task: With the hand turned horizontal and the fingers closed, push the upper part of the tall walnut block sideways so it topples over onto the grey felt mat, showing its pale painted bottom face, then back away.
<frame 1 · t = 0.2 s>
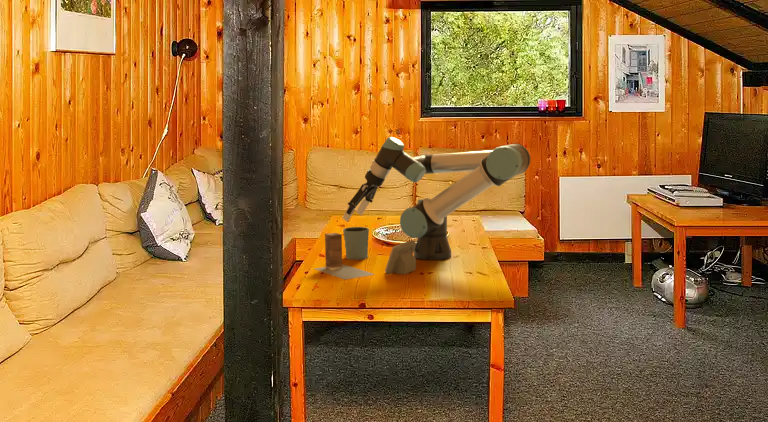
hand: (352, 216, 325), 16 cm above the table, tool tilted 35°, fingers open, 13 cm apart
felt mat: (343, 272, 299), on the table
digital clock: (400, 271, 301), on the table
walnut block: (334, 268, 304), resting on felt mat
grey green cup: (356, 259, 324), on the table
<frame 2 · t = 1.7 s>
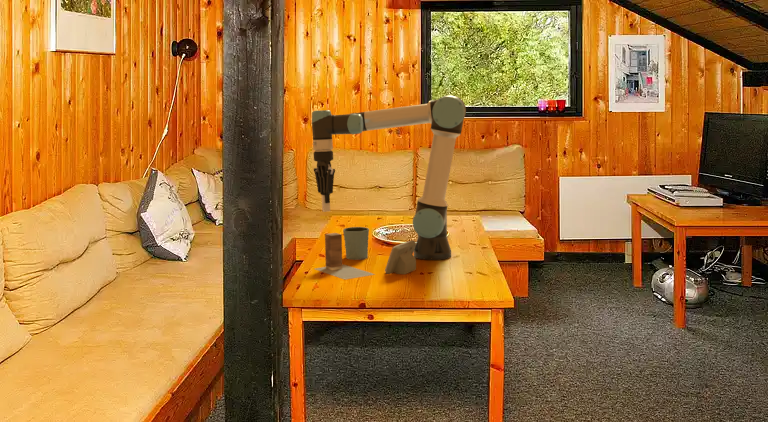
hand: (326, 211, 315), 20 cm above the table, tool pointing down, fingers closed
nothing on the table moved.
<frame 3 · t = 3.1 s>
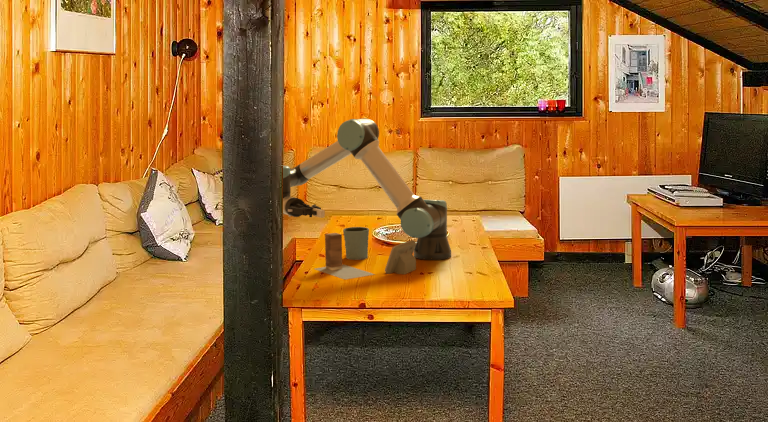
hand: (322, 214, 307), 20 cm above the table, tool horizontal, fingers closed
nothing on the table moved.
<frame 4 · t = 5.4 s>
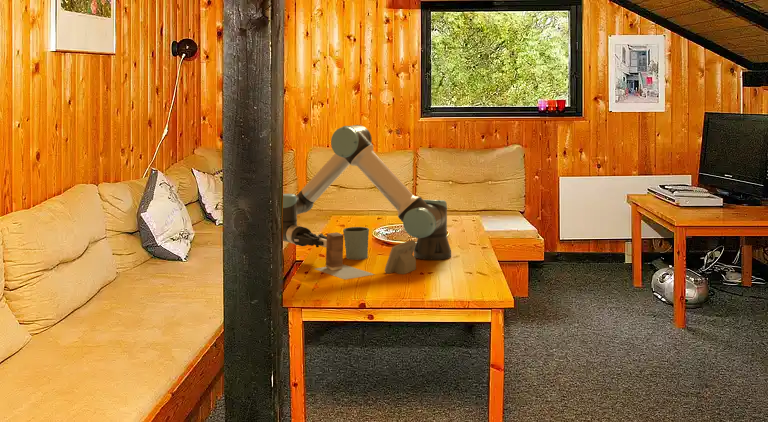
hand: (329, 244, 304), 9 cm above the table, tool horizontal, fingers closed
walnut block: (334, 267, 304), point 1 cm above the table, tilted 6°, touching felt mat
everything else where it was.
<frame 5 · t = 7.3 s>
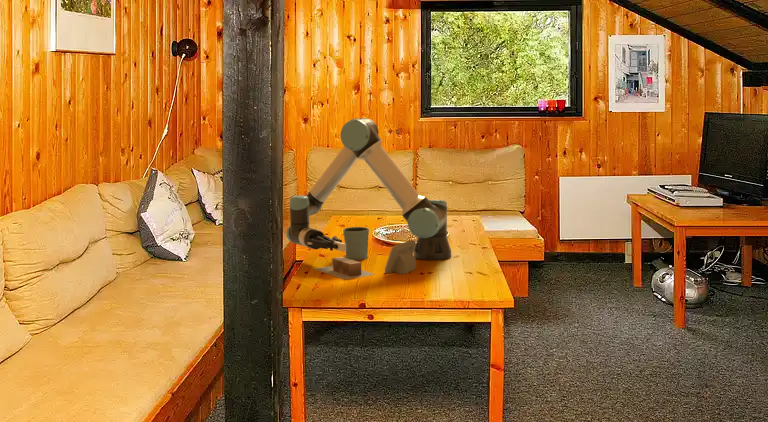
hand: (344, 247, 297), 9 cm above the table, tool horizontal, fingers closed
walnut block: (337, 263, 302), point 3 cm above the table, tilted 90°, touching felt mat
everything else where it was.
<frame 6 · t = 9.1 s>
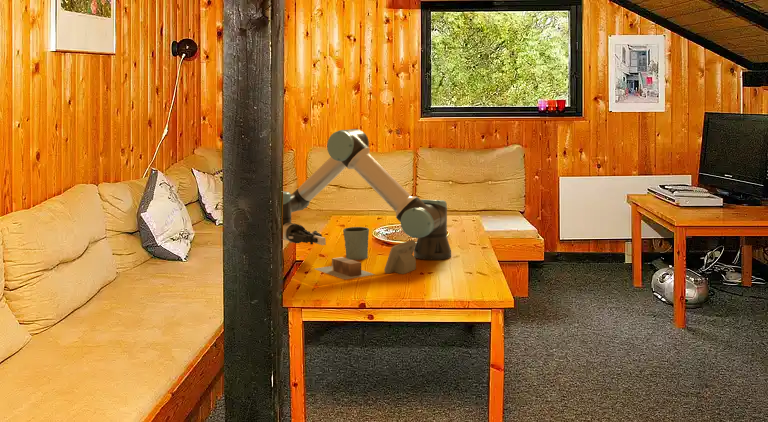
hand: (323, 241, 309), 10 cm above the table, tool horizontal, fingers closed
nothing on the table moved.
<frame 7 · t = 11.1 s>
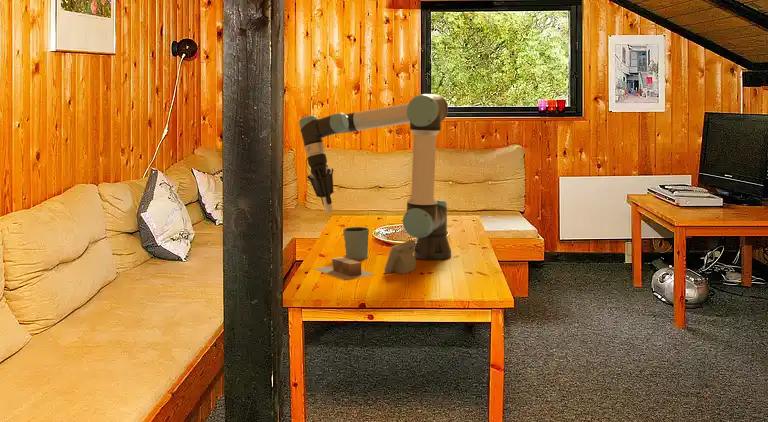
hand: (329, 212, 322), 19 cm above the table, tool tilted 15°, fingers closed
nothing on the table moved.
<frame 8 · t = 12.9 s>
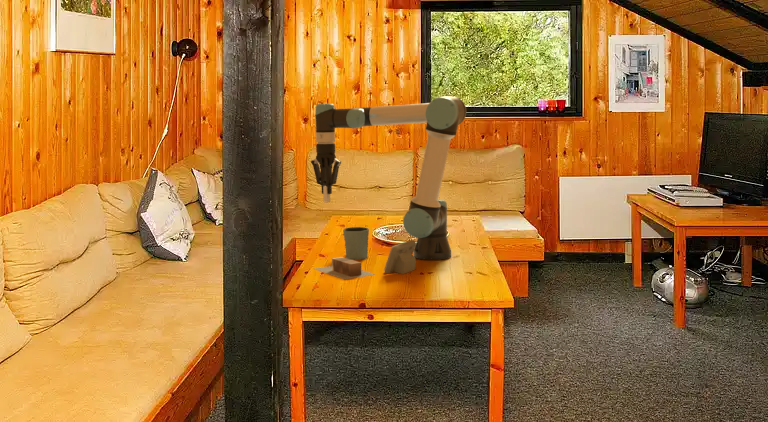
hand: (326, 202, 324), 22 cm above the table, tool pointing down, fingers closed
nothing on the table moved.
at the end: walnut block tilted 90°; walnut block inside the target area on the felt mat (4.3 cm from its centre), point 2.6 cm above the felt mat's base; the gripper is holding nothing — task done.
